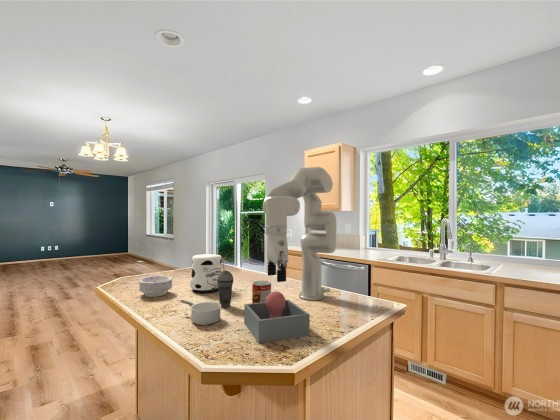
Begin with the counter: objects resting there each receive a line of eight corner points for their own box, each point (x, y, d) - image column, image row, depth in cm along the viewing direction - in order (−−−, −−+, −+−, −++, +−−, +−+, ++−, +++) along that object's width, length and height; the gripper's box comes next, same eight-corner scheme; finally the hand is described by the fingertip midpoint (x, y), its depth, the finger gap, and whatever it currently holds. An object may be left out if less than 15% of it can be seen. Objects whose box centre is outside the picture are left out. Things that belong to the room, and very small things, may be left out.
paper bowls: (160, 299, 134) (161, 283, 135) (131, 297, 137) (132, 281, 137) (177, 291, 149) (178, 276, 150) (151, 289, 152) (151, 274, 152)
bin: (288, 317, 113) (288, 299, 113) (309, 335, 97) (309, 314, 97) (244, 323, 107) (244, 304, 107) (258, 343, 90) (258, 321, 90)
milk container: (219, 294, 145) (219, 258, 145) (185, 294, 145) (185, 258, 145) (225, 285, 162) (226, 254, 162) (195, 285, 162) (196, 253, 162)
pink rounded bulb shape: (288, 323, 104) (288, 290, 104) (280, 330, 97) (280, 295, 98) (270, 320, 107) (271, 288, 107) (261, 327, 100) (262, 292, 101)
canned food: (262, 307, 125) (262, 279, 125) (274, 311, 120) (275, 283, 120) (248, 311, 120) (248, 282, 120) (260, 316, 114) (260, 286, 114)
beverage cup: (229, 309, 122) (230, 262, 122) (213, 308, 123) (214, 261, 124) (235, 304, 129) (236, 259, 129) (220, 303, 130) (221, 259, 131)
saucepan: (192, 309, 121) (192, 296, 121) (227, 319, 111) (227, 305, 111) (169, 318, 112) (169, 303, 112) (205, 329, 101) (205, 313, 101)
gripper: (296, 232, 96) (296, 283, 96) (277, 228, 112) (277, 272, 112) (275, 233, 93) (275, 285, 93) (259, 229, 109) (259, 273, 109)
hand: (276, 278), depth 103 cm, fingers open, 9 cm apart
